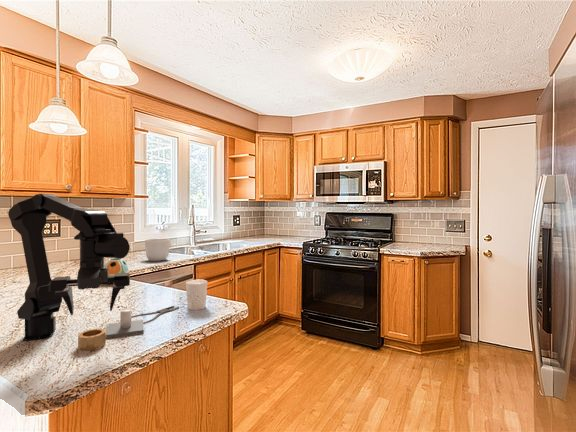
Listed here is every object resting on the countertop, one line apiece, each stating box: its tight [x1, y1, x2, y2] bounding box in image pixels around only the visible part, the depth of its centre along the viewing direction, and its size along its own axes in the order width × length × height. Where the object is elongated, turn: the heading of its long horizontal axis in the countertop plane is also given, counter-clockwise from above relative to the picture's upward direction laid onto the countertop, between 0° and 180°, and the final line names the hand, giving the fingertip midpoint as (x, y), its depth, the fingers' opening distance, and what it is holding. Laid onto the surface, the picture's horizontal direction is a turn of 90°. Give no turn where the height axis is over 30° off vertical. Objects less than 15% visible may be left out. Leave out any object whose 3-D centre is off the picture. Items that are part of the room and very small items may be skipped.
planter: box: [144, 238, 171, 262], centre depth 233 cm, size 17×17×15 cm
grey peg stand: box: [106, 308, 145, 339], centre depth 100 cm, size 10×10×6 cm
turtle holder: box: [104, 258, 130, 277], centre depth 167 cm, size 12×18×12 cm
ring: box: [77, 328, 107, 352], centre depth 89 cm, size 6×6×4 cm
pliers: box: [131, 305, 180, 325], centre depth 115 cm, size 10×1×20 cm
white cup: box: [185, 279, 208, 311], centre depth 124 cm, size 8×8×10 cm
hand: (91, 312), depth 88 cm, fingers open, 9 cm apart
